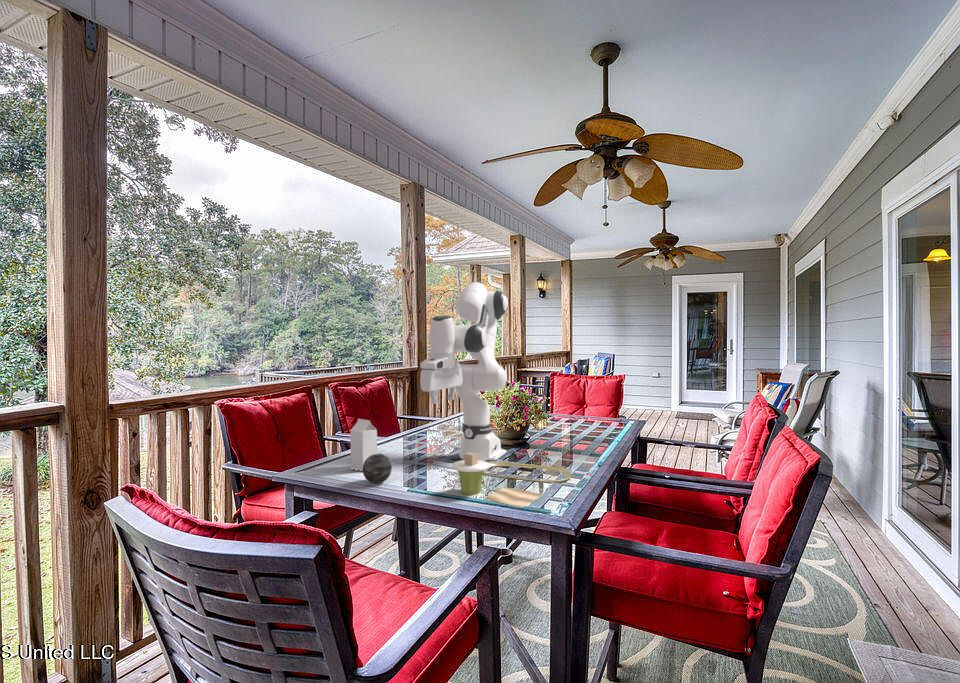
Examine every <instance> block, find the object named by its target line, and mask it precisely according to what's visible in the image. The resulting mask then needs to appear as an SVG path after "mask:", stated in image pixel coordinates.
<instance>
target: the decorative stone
mask: <svg viewBox="0 0 960 683" xmlns="http://www.w3.org/2000/svg"><path fill="white" fill-rule="evenodd" d="M392 467H393V464H392V461H391V460H390V458H389V457H388V456H386V455H385V454H383V453H377V454H373V455H371V456H369V457H368V458H367V459H366V460H365V462H364V464H363V472H362V474H363V476H364V478H365V479H366V480H367V481H368V482H369V483H372V484H380V483H383V482H385V481H387V480H388V479H389V477H390V476H391V474H392V471H393V468H392Z"/></svg>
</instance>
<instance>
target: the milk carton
mask: <svg viewBox="0 0 960 683" xmlns="http://www.w3.org/2000/svg"><path fill="white" fill-rule="evenodd" d="M373 454H378V430H377V428H376V427H375V426H374V425H372V423H371V420H368V419H363V418H362V419H361V418H357V421H356V423H355V424H354V425H353V426H352V428H351V429H350V469H351V468H353V469H357V470H361V471H363V464H364V462H365V460H366V459H367V458H368V457H369V456H371V455H373ZM353 469H352V470H353ZM357 470H356V471H357ZM361 471H360V472H361Z"/></svg>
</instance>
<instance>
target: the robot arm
mask: <svg viewBox="0 0 960 683" xmlns="http://www.w3.org/2000/svg"><path fill="white" fill-rule="evenodd" d="M508 301H509V300H508V296H507V295H506V293H505V292H503V291H499V290H496V291H494V290H487V287H486V286H485V285H484V284H483V283H481V282H477V281H474V282H473V281H472V282H471V283H469V284H467V285H466V286H465V287H464V289H462V291H461V292H460V293H459V296H458V298H457V299H456V302H455V309H456V313H457V314H458V316H460V318H461V319H463V320H465V321H466V322H472V323H473V322H474V324H454V318H453V316H451V315H447V314H446V315H445V314H444V315H443V314H442V315H437V316H434V317H431V320H430V326H429V345H430V351H429V357H427V358H425V359H424V360H423V361H421V362H420V366H419V367H420V369H421V370H420V383H419V384H420V388H421V390H422V392H427V393H428V394H429V397H430V399H431V400H430V401H431V404H432V405H436V404H438V403H439V398H438V397H437V395H436V394H437V391H440V390H444V389H445V390H446V389H448V390H449V393H448V394H447V400H448V401H453V400H454V399H455V393H456V394H457V395H458V398H459V399H460V401H461V405H462V413H463V414H462V415H463V416H462V417H463V423H462V424H461V425H462V426H461V431H462V434H461V435H460V441H459V442H460V443H459V451H458V452H457V455H458V456H459V458H460V459H461V460H465V454H466V453H469V452H472V453H477V460H482V461H496V460H498V459H499V458H501V457H502V456H504V455H505V454H506V453H507V450H506V449H504V448H502V444H501V439H500V438H499V437H498V436H497V435H496V434H495V433H494V432H493V429H495V427H496V424H495V422H494V423H493V422H490V412H491V411H490V405H489V403H488V402H487V401H486V400H485V399H482V398H480V396H479V395H478V393H477V391H478V392H493V391H494V392H495V391H499V390H502V389H504V387H505V386H506V384H507V379H508V378H507V377H508V376H507V373H506V370H505V369H504V368H503V367H502V366H501V365H500V364H499V363H498V361H497V360H496V356H495V352H496V351H495V348H496V340H497V334H498V331H497V330H498V326H497V325H498V324H497V322H498V321H499V320H500V319H501V317H503V316H504V315H505V313H506V312H507V310H508V306H509V302H508ZM456 352H459V353H460V352H462V353H463V352H465V353H466V352H468V353H469V354H470V356H471V358H473V359H475V360H476V361H478V364H467V363H466V364H460V361H459V360H456Z"/></svg>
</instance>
